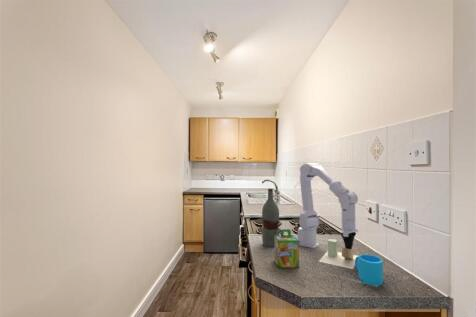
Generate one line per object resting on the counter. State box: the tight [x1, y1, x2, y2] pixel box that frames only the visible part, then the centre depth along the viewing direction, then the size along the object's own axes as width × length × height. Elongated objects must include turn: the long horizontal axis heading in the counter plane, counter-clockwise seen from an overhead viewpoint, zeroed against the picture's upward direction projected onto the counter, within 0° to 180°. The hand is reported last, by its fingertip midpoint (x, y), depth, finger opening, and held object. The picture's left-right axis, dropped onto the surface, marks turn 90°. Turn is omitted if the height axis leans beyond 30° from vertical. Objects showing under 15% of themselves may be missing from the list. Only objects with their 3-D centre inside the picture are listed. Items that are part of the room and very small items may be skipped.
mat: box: [318, 250, 359, 270], centre depth 112 cm, size 14×17×1 cm
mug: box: [355, 254, 384, 287], centre depth 95 cm, size 12×8×8 cm
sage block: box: [327, 238, 339, 257], centre depth 116 cm, size 4×4×7 cm
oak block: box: [341, 247, 355, 259], centre depth 110 cm, size 4×4×7 cm
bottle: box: [261, 188, 280, 248], centre depth 133 cm, size 9×9×30 cm
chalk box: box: [273, 228, 300, 269], centre depth 108 cm, size 9×9×15 cm
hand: (348, 248), depth 112 cm, fingers closed
